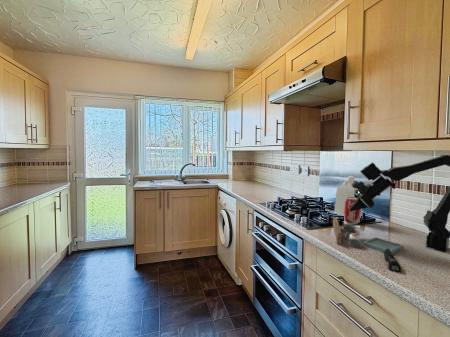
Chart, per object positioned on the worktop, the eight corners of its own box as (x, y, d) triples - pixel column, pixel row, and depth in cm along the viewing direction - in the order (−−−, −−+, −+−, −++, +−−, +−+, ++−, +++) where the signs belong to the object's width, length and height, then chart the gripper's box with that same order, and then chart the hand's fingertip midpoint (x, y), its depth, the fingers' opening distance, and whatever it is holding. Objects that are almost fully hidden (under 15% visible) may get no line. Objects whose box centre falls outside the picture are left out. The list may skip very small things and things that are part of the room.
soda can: (363, 224, 116) (364, 199, 116) (349, 225, 115) (351, 199, 114) (353, 220, 123) (354, 196, 122) (340, 220, 122) (341, 196, 121)
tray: (402, 249, 105) (403, 245, 105) (390, 254, 99) (390, 250, 99) (375, 240, 114) (375, 237, 114) (362, 245, 108) (363, 241, 108)
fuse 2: (359, 244, 109) (360, 234, 108) (355, 246, 107) (356, 236, 106) (351, 242, 112) (352, 232, 111) (347, 243, 110) (348, 233, 109)
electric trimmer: (393, 256, 98) (393, 249, 98) (401, 273, 84) (402, 264, 84) (381, 254, 100) (382, 247, 100) (388, 271, 86) (389, 262, 86)
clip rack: (352, 227, 133) (352, 218, 132) (361, 247, 105) (362, 236, 105) (332, 225, 136) (333, 216, 136) (337, 244, 109) (337, 233, 108)
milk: (353, 223, 140) (356, 178, 138) (333, 218, 149) (336, 176, 147) (362, 220, 148) (365, 177, 146) (342, 215, 157) (345, 175, 154)
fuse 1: (352, 229, 130) (353, 220, 130) (349, 230, 128) (349, 221, 128) (346, 227, 133) (346, 218, 133) (342, 228, 131) (343, 219, 131)
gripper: (360, 173, 125) (335, 193, 130) (367, 177, 107) (338, 199, 112) (377, 189, 123) (351, 209, 127) (387, 196, 105) (356, 218, 110)
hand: (349, 208), depth 119 cm, fingers closed on soda can, 7 cm apart
